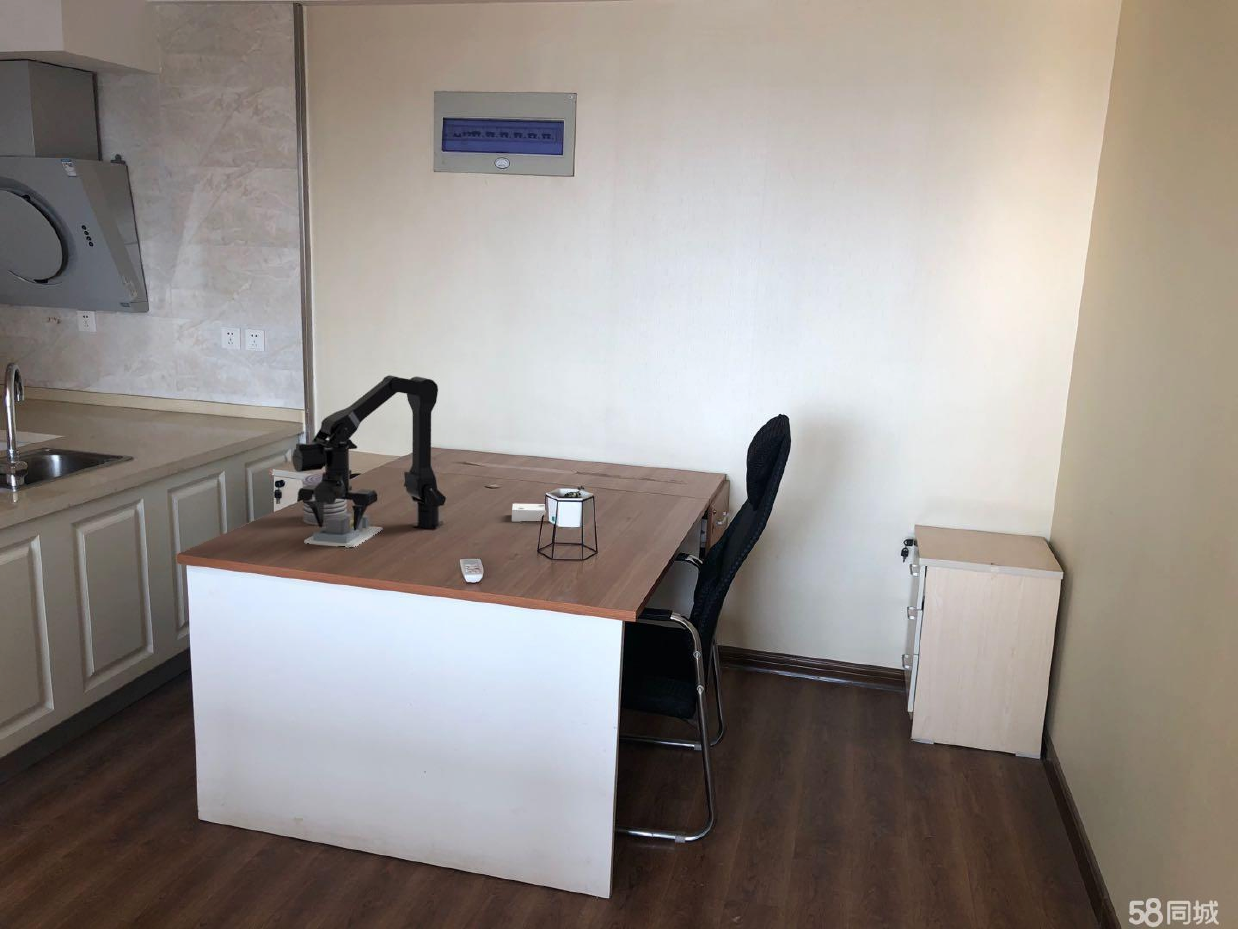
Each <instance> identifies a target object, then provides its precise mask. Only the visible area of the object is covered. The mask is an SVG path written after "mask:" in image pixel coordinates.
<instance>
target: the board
mask: <svg viewBox="0 0 1238 929" xmlns="http://www.w3.org/2000/svg"><path fill="white" fill-rule="evenodd" d="M344 516H350V521H351V520H352V519H353V514H352V513H347V514H346V515H344ZM381 530H382V531H383V526H371V525H370V515H369V514H368V515H367V514H363V516H362V519H361V521H360V524H359V526H358V529H357V530H356V531H354V526H353V527H351V528H350V532H348V533H346V534H345V535H339V534H328V533H326V526H324V527H321V528H320V529H319V530H316V531H315V532H312V533H313V534H312V535H311V536H309V537H307V538H306V539H304V544H307V543H309V544H308V545H318V546H330V547H338V546H345V547H344V548H349V547H355V546H356V547H358V546H360V545H361V544H363V543H364V542H366V541H367V540H369V539H371V538H373V537H374V536H376V535H377V534H378V532H379V533H380V531H381ZM382 531H381V532H382ZM375 534H376V535H375ZM373 535H374V536H373ZM365 540H366V541H365ZM362 542H363V543H362ZM359 544H360V545H359ZM356 547H355V548H356Z"/></svg>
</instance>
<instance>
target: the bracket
mask: <svg viewBox="0 0 1238 929" xmlns="http://www.w3.org/2000/svg"><path fill="white" fill-rule="evenodd" d="M511 509H512V510H511V522H521V521H540V519H541V517H542V516H543V515H545V513H546V510H545V503H541V504H540V503H512V507H511Z"/></svg>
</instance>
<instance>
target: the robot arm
mask: <svg viewBox="0 0 1238 929" xmlns="http://www.w3.org/2000/svg"><path fill="white" fill-rule="evenodd" d="M397 393H401V394H406V398H407V402H408V404H409V406H410V410H411V412H412V443H411V444H412V448H411V449H412V456H411V457H412V465H411V466H410V467H411V468H410V470H409V471H404V473H403V475H404V483H403V487H405V490H406V493H407V494H408V495H410V497H411V500H412V501H413V502H415V503H416V504H417V508H416V511H417V514H416V515H417V516H416V518H417V519H416V521H417V522H415V523H414V524H413V525H412V528H416V529H417V528H420V529H430V530H436V529H438V528H440V527H441V526H442V525H443V524H444V521H442V520H440V507H442V506H444V505H445V502H446V500H447V498H446V496H445V495H444V494H443V493H442V492H441V491H440V490H439V489H438V484H437V478H436V474H435V472H434V470H433V467H432V411H433V410H434V409H435V405H436V404H437V399H438V395H439V394H438V393H439V386H438V383H436V382H435V380H433V379H430V378H426V377H421V376H413V377H411V378H404V377H399V376H396V375H390V374H389V375H387V376H384V377H383V379H382V380H381V381H380V382H378V383H377V384H376V385H375V386H373V387H372V388H371V389H370V390H368V391H367V392H366V393H365V394H363V395H362V396H361V397H360V398H359V399H357V400H356V401H354V402H353V403H352V404H351V405H349V406H348V407H346V408H344V409H341V410H337V411H335V412H334V413H333V412H332V413H331V414H329V415H328V416H326V417H325V418H324V419H323V420H322V421H321V423H320V428H319V430H318V432H317V433H316V435H315V436H314V438H313V439H312V441H311V442H308V443H306V442H305V443H303V442H298V443H297V442H296V444H295V448H294V450H293V452H292V453H293V454H292V456H291V461H292V465H293V468H294V470H295V472H297V473H300V472H311V471H317V470H318V471H319V470H322V469H323V468H324V473H323V475H322V481H321V482H320V483H319V484H318V485H307V486H305V487H303V486H302V487H300V488H299V489H298V491H297V500H298V501H302V504H303V503H304V504H307V505H308V506H310V507H311V509H312V511H313V513H314V515H315V518H316V520H317V523H318V525H317V526H318V527H319V528H324V527H323V526H324V525H323V521H324V503H327V504H332V503H334V502H335V500H336V499H346V501H347V500H349V501H352V502H353V505H351V508H352V510H353V519H354V522H353V526H354V531H356V530H357V529H358V526H359V524H360V521H361V519H362V516H364V515H365V512H366V510H367V508H368V507H369V506H371V505H373V504H374V503H376V502H378V493H377V492H376V490H374V489H364V488H362V489H360V490H358V491H356V492H352V490H353V487H352V485H350V475H352V469H350V450H356V449H358V446H357V445H356V444H355V443H354V442H353V441H352V439H351V438H352V436H353V435H355V433H356V432H357V431H358V429H359V427H360V425H361V423H362V422H363V421H364V420H365V419H366V418H367V417H368V416H370V415H371V414H372V413H373V412H375V411H376V410H377V409H378V408H381V406H382V405H383V404H385V403H386V402H387V401H388V400H390V399H391V398H392V397H393V396H395V395H396V394H397ZM350 491H351V492H350ZM344 495H345V496H344ZM303 500H304V501H303Z"/></svg>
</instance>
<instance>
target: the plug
mask: <svg viewBox="0 0 1238 929" xmlns="http://www.w3.org/2000/svg"><path fill="white" fill-rule="evenodd" d="M353 522H354V518H352V520H351V521H350V516H342V515H334V516H332V517H330V518H328V519H326V525H325V527H326V533H328V534H339V535H345V534H346V533H348V532H350V528H351V527H353Z"/></svg>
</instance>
